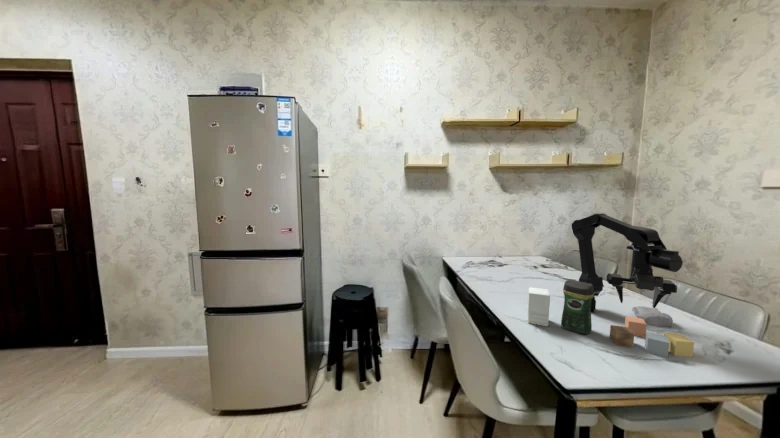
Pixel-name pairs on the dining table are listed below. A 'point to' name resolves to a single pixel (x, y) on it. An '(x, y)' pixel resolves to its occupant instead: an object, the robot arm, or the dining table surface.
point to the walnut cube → (621, 336)
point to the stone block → (653, 316)
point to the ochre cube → (680, 345)
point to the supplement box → (538, 306)
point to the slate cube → (657, 344)
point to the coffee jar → (577, 306)
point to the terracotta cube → (636, 325)
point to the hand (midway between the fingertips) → (637, 305)
